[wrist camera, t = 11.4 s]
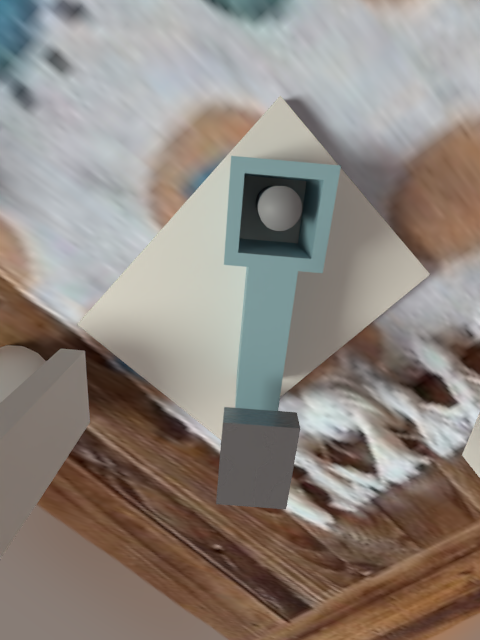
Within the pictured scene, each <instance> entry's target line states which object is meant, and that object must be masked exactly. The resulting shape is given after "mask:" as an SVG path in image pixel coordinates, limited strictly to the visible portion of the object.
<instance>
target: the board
mask: <svg viewBox="0 0 480 640" xmlns="http://www.w3.org/2000/svg"><path fill="white" fill-rule="evenodd" d="M231 156H239V157H250V158H261V159H273V160H284V161H295V162H306V163H317V164H328V165H338V164H337V163H336V162H335V160H334V159H333V158H332V157H331V156H330V154H329V153H328V152H327V151H326V150H325V148H324V147H323V146H322V145H321V144H320V142H319V141H318V140H317V139H316V138H315V136H314V135H313V134H312V133H311V132H310V131H309V129H308V128H307V127H306V126H305V125H304V123H303V122H302V121H301V120H300V119H299V117H298V116H297V115H296V114H295V113H294V111H293V110H292V109H291V108H290V107H289V105H288V104H287V103H286V102H285V101H284V99H283V98H282V97H281V96H280V97H279V98H278V99H277V100H276V101H275V102H274V103H273V105H272V106H271V107H270V108H269V109H268V110H267V111H266V112H265V114H264V115H263V116H262V117H261V118H260V119H259V120H258V121H257V123H256V124H255V125H254V126H253V127H252V128H251V129H250V130H249V132H248V133H247V134H246V135H245V136H244V137H243V138H242V139H241V141H240V142H239V143H238V144H237V145H236V146H235V147H234V148H233V150H232V151H231V152H230V153H229V154H228V155H227V156H226V157H225V159H224V160H223V161H222V162H221V163H220V164H219V165H218V166H217V168H216V169H215V170H214V171H213V172H212V173H211V174H210V175H209V177H208V178H207V179H206V180H205V181H204V182H203V183H202V185H201V186H200V187H199V188H198V189H197V190H196V191H195V192H194V194H193V195H192V196H191V197H190V198H189V199H188V200H187V201H186V203H185V204H184V205H183V206H182V207H181V208H180V209H179V210H178V212H177V213H176V214H175V215H174V216H173V217H172V218H171V219H170V221H169V222H168V223H167V224H166V225H165V226H164V227H163V228H162V230H161V231H160V232H159V233H158V234H157V235H156V236H155V237H154V239H153V240H152V241H151V242H150V243H149V244H148V245H147V246H146V248H145V249H144V250H143V251H142V252H141V253H140V254H139V255H138V257H137V258H136V259H135V260H134V261H133V262H132V263H131V264H130V266H129V267H128V268H127V269H126V270H125V271H124V272H123V273H122V275H121V276H120V277H119V278H118V279H117V280H116V281H115V282H114V284H113V285H112V286H111V287H110V288H109V289H108V290H107V291H106V293H105V294H104V295H103V296H102V297H101V298H100V299H99V300H98V302H97V303H96V304H95V305H94V306H93V307H92V308H91V309H90V311H89V312H88V313H87V314H86V315H85V316H84V317H83V318H82V320H81V321H80V322H79V323H78V324H77V325H78V326H79V327H81V328H82V329H83V330H84V331H86V332H87V333H88V334H89V335H91V336H92V337H93V338H94V339H96V340H97V341H98V342H99V343H101V344H102V345H103V346H104V347H106V348H107V349H108V350H109V351H111V352H112V353H113V354H114V355H116V356H117V357H118V358H119V359H121V360H122V361H123V362H124V363H126V364H127V365H128V366H129V367H131V368H132V369H133V370H134V371H135V372H137V373H138V374H139V375H140V376H142V377H143V378H144V379H145V380H147V381H148V382H149V383H150V384H152V385H153V386H154V387H155V388H157V389H158V390H159V391H160V392H162V393H163V394H164V395H165V396H167V397H168V398H169V399H170V400H172V401H173V402H174V403H175V404H177V405H178V406H179V407H180V408H182V409H183V410H184V411H185V412H187V413H188V414H189V415H190V416H192V417H193V418H194V419H195V420H197V421H198V422H199V423H200V424H202V425H203V426H204V427H205V428H207V429H208V430H209V431H210V432H212V433H213V434H214V435H215V436H217V437H218V438H219V439H220V440H221V439H222V426H223V415H224V407H232V408H235V399H236V378H237V366H238V355H239V344H240V333H241V322H242V311H243V300H244V289H245V278H246V267H243V266H231V265H224V255H225V240H226V225H227V210H228V195H229V181H230V166H231ZM305 188H306V181H302V180H290V179H279V178H268V177H257V176H246V175H245V180H244V192H243V204H242V217H241V229H240V238H242V239H254V240H265V241H277V242H288V243H298V238H299V231H300V224H301V217H302V210H303V203H304V195H305ZM429 275H430V274H429V273H428V271H427V270H426V269H425V268H424V267H423V265H422V264H421V263H420V262H419V261H418V259H417V258H416V257H415V256H414V255H413V253H412V252H411V251H410V250H409V249H408V248H407V246H406V245H405V244H404V243H403V242H402V240H401V239H400V238H399V237H398V236H397V234H396V233H395V232H394V231H393V230H392V228H391V227H390V226H389V225H388V224H387V222H386V221H385V220H384V219H383V218H382V216H381V215H380V214H379V213H378V212H377V211H376V209H375V208H374V207H373V206H372V205H371V203H370V202H369V201H368V200H367V199H366V197H365V196H364V195H363V194H362V193H361V191H360V190H359V189H358V188H357V187H356V185H355V184H354V183H353V182H352V181H351V179H350V178H349V177H348V176H347V175H346V173H345V172H344V171H343V170H342V169H341V168H340V174H339V180H338V186H337V192H336V198H335V204H334V210H333V215H332V221H331V227H330V233H329V239H328V245H327V251H326V257H325V262H324V268H323V273H313V272H302V271H298V275H297V282H296V289H295V296H294V303H293V310H292V316H291V323H290V330H289V337H288V344H287V351H286V358H285V365H284V372H283V379H282V386H281V393H280V397H281V396H282V395H283V394H285V393H286V392H287V391H288V390H290V389H291V388H292V387H293V386H294V385H296V384H297V383H298V382H299V381H301V380H302V379H303V378H304V377H305V376H307V375H308V374H309V373H310V372H312V371H313V370H314V369H315V368H316V367H318V366H319V365H320V364H321V363H323V362H324V361H325V360H326V359H327V358H329V357H330V356H331V355H332V354H334V353H335V352H336V351H337V350H338V349H340V348H341V347H342V346H343V345H345V344H346V343H347V342H348V341H349V340H351V339H352V338H353V337H354V336H356V335H357V334H358V333H359V332H360V331H362V330H363V329H364V328H365V327H367V326H368V325H369V324H370V323H371V322H373V321H374V320H375V319H376V318H377V317H379V316H380V315H381V314H382V313H384V312H385V311H386V310H387V309H388V308H390V307H391V306H392V305H393V304H395V303H396V302H397V301H398V300H399V299H401V298H402V297H403V296H404V295H406V294H407V293H408V292H409V291H410V290H412V289H413V288H414V287H415V286H417V285H418V284H419V283H420V282H421V281H423V280H424V279H425V278H426V277H428V276H429Z"/></svg>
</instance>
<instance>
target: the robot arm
mask: <svg viewBox="0 0 480 640" xmlns="http://www.w3.org/2000/svg"><path fill="white" fill-rule="evenodd" d="M89 423H90V416H89V402H88V387H87V373H86V359H85V351H82V350H71V349H60V350H59V351H57V352H56V353H55V354H54V355H53V356H52V357H51V358H50V359H49V360H47V361H46V362H45V363H44V364H43V365H42V366H41V367H40V368H39V369H37V370H36V371H35V372H34V373H33V374H32V375H31V376H30V377H29V378H27V379H26V380H25V381H24V382H23V383H22V384H21V385H20V386H19V387H17V388H16V389H15V390H14V391H13V392H12V393H11V394H10V395H9V396H7V397H6V398H5V399H4V400H3V401H2V402H1V403H0V560H1V558H2V557H3V555H4V553H5V552H6V550H7V549H8V547H9V546H10V544H11V542H12V541H13V540H14V538H15V537H16V535H17V533H18V532H19V530H20V529H21V527H22V526H23V524H24V523H25V521H26V520H27V518H28V517H29V515H30V513H31V512H32V510H33V509H34V507H35V506H36V504H37V503H38V501H39V500H40V498H41V497H42V495H43V493H44V492H45V490H46V489H47V487H48V486H49V484H50V483H51V481H52V480H53V478H54V477H55V475H56V473H57V472H58V470H59V469H60V467H61V466H62V464H63V463H64V461H65V460H66V458H67V457H68V455H69V453H70V452H71V450H72V449H73V447H74V446H75V444H76V443H77V441H78V440H79V438H80V437H81V435H82V433H83V432H84V430H85V429H86V427H87V426H88V424H89ZM462 456H463V457H464V458H465V460H466V461H467V462H468V463H469V465H470V466H471V467H472V468H473V470H474V471H475V472H476V473H477V475H478V476H479V477H480V413H479V416H478V418H477V420H476V423H475V425H474V428H473V430H472V433H471V435H470V437H469V440H468V442H467V445H466V447H465V449H464V452H463V454H462Z"/></svg>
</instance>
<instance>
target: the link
mask: <svg viewBox="0 0 480 640" xmlns="http://www.w3.org/2000/svg"><path fill="white" fill-rule="evenodd" d="M340 168H341V166H339V165H328V164H317V163H306V162H295V161H284V160H273V159H261V158H250V157H239V156H231V166H230V181H229V195H228V210H227V225H226V240H225V255H224V265H231V266H243V267H246V278H245V289H244V300H243V311H242V322H241V333H240V344H239V355H238V366H237V378H236V399H235V408H244V409H257V410H269V411H278V407H279V400H280V393H281V386H282V379H283V372H284V365H285V358H286V351H287V344H288V337H289V330H290V323H291V316H292V310H293V303H294V296H295V289H296V282H297V275H298V271H302V272H313V273H323V268H324V262H325V257H326V251H327V245H328V239H329V233H330V227H331V221H332V215H333V210H334V204H335V198H336V192H337V186H338V180H339V174H340ZM245 175H246V176H257V177H268V178H279V179H290V180H302V181H306V188H305V195H304V203H303V210H302V217H301V224H300V231H299V238H298V243H288V242H277V241H265V240H254V239H242V238H240V229H241V217H242V204H243V192H244V180H245Z"/></svg>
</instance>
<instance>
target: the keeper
mask: <svg viewBox="0 0 480 640" xmlns="http://www.w3.org/2000/svg"><path fill="white" fill-rule="evenodd" d="M299 432H300V426H299V421H298V417H297V413H295V412H282V411H269V410H257V409H244V408H232V407H224V415H223V426H222V439H221V451H220V464H219V477H218V489H217V502H216V504H223V505H237V506H250V507H263V508H277V509H286V506H287V500H288V495H289V489H290V483H291V478H292V472H293V466H294V460H295V455H296V449H297V443H298V438H299Z"/></svg>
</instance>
